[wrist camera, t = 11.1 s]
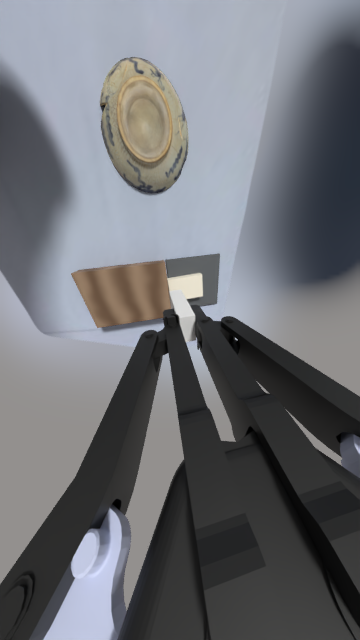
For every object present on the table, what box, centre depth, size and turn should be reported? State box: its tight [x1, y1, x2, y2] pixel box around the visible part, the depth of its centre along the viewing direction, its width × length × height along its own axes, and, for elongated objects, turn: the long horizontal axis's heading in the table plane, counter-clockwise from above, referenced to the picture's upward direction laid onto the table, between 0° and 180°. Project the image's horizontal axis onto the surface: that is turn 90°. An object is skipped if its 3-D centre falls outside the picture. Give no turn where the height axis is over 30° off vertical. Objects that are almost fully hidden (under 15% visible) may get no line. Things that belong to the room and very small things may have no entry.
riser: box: [71, 260, 171, 328], centre depth 35 cm, size 20×14×4 cm
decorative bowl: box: [100, 57, 188, 193], centre depth 23 cm, size 15×4×15 cm
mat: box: [166, 254, 220, 306], centre depth 38 cm, size 14×14×1 cm
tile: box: [167, 273, 203, 299], centre depth 37 cm, size 9×6×2 cm, turn 97°
